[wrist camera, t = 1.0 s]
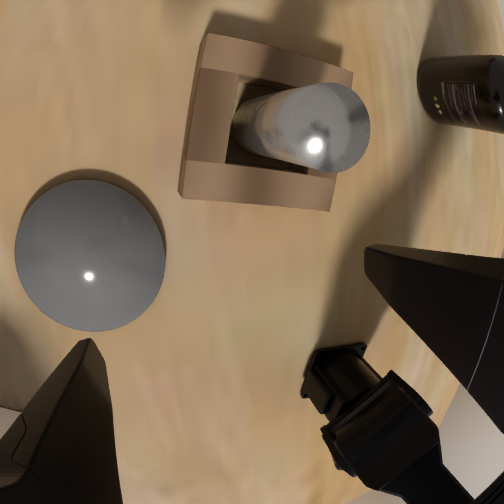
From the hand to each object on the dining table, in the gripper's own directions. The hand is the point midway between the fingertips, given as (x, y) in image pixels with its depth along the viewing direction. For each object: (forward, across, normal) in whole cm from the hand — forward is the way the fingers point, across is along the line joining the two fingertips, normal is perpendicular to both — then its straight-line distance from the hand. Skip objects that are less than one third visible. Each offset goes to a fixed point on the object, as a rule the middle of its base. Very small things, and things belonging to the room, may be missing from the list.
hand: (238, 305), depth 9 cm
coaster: (+13, +7, +2) cm, 15 cm away
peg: (+13, -6, -4) cm, 15 cm away
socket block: (+13, -6, -4) cm, 15 cm away
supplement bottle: (+13, -25, -6) cm, 29 cm away
